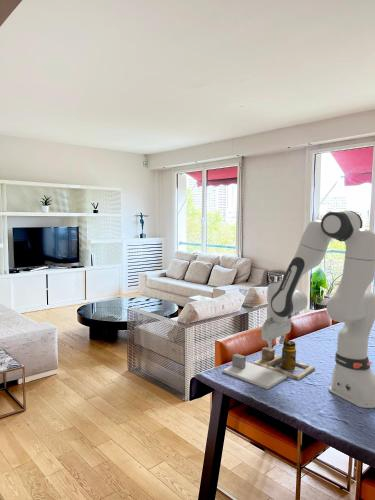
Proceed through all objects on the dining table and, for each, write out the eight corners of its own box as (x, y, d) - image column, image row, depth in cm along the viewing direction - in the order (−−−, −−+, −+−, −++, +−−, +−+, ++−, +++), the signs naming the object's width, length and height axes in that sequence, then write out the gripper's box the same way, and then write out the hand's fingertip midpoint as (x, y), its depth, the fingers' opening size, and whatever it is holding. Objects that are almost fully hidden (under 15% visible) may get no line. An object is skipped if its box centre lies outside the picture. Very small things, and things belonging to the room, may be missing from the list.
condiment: (298, 370, 170) (300, 344, 168) (281, 372, 168) (282, 345, 167) (291, 364, 177) (292, 339, 176) (274, 365, 175) (275, 340, 174)
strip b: (286, 378, 161) (287, 363, 161) (267, 389, 151) (268, 374, 150) (243, 362, 177) (243, 349, 176) (222, 372, 166) (223, 358, 165)
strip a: (314, 369, 171) (315, 356, 170) (298, 379, 160) (299, 365, 159) (270, 356, 186) (271, 343, 185) (253, 364, 175) (253, 351, 175)
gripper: (270, 321, 164) (270, 353, 165) (293, 313, 179) (293, 342, 180) (258, 319, 169) (257, 349, 169) (281, 311, 183) (281, 340, 184)
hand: (276, 346), depth 175 cm, fingers open, 8 cm apart
